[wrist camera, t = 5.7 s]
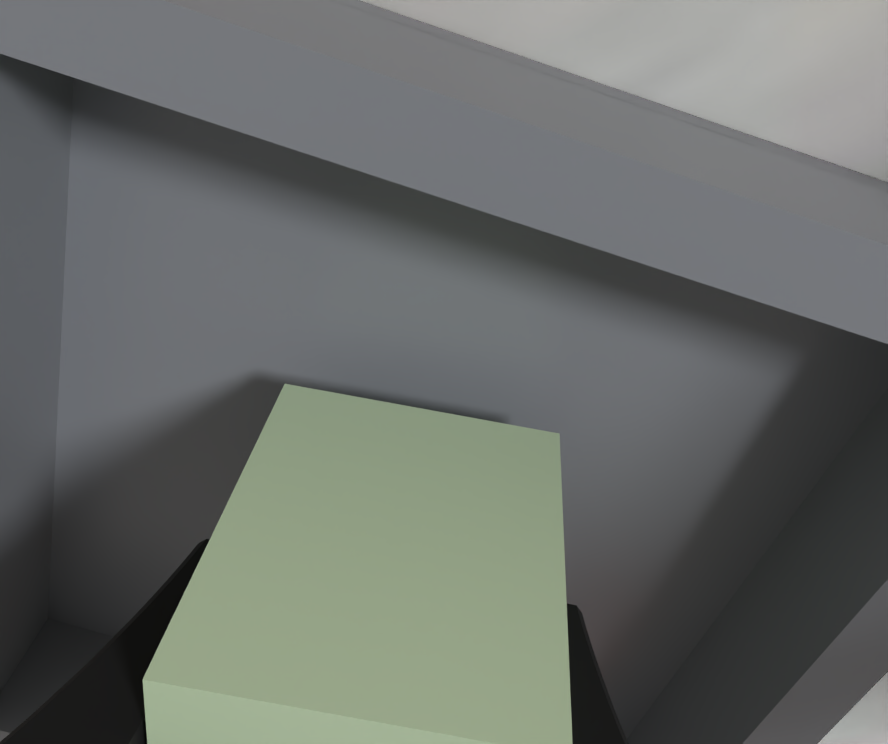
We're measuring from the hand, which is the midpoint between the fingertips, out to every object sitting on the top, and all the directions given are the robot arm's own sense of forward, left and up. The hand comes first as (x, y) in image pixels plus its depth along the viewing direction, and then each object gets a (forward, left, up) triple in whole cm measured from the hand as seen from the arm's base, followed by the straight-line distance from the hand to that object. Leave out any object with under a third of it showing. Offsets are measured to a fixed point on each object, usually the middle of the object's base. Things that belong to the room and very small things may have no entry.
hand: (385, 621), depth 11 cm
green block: (0, 0, -2) cm, 2 cm away
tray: (0, 0, -3) cm, 3 cm away
